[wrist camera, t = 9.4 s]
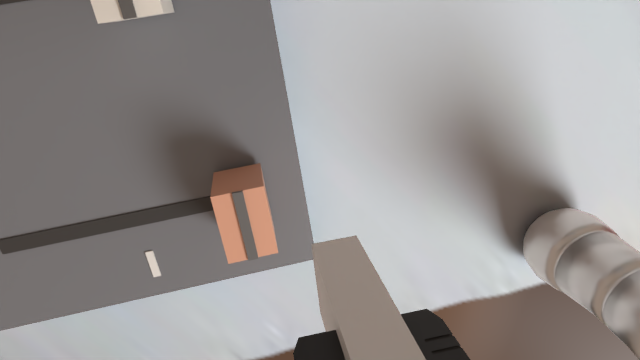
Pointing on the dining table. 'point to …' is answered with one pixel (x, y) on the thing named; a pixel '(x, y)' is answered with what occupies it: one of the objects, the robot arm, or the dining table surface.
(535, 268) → the plastic bottle
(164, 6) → the white fader
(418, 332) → the robot arm
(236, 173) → the terracotta fader
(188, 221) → the fader panel
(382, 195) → the dining table surface
